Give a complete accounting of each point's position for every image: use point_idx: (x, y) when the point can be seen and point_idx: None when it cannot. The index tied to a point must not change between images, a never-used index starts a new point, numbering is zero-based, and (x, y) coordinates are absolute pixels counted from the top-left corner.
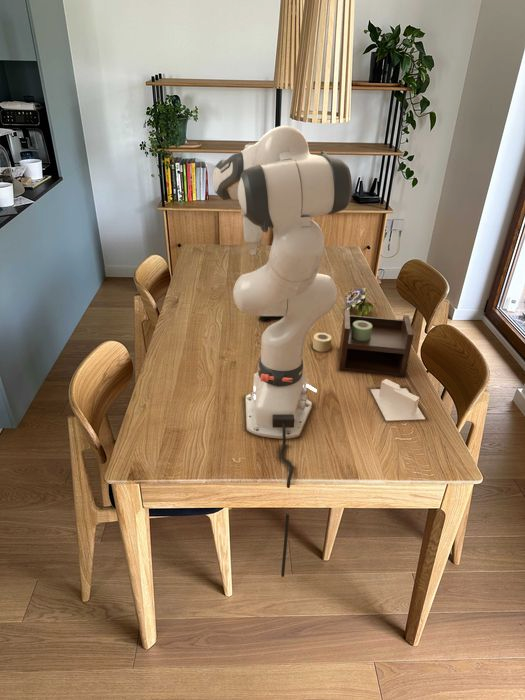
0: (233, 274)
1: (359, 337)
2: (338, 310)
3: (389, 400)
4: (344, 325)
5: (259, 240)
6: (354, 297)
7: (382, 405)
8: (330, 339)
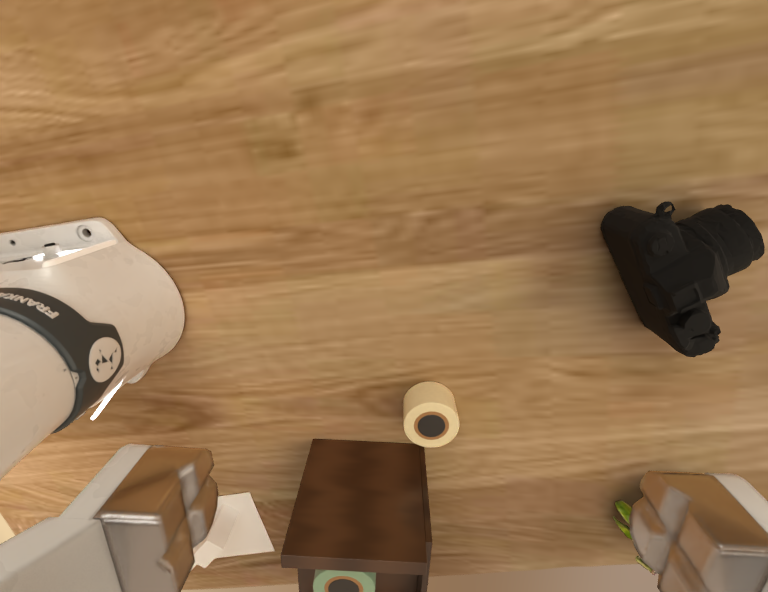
0: None
1: None
2: (677, 452)
3: None
4: (317, 550)
5: (670, 589)
6: None
7: None
8: (417, 444)
